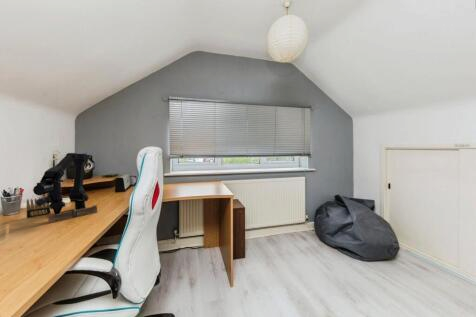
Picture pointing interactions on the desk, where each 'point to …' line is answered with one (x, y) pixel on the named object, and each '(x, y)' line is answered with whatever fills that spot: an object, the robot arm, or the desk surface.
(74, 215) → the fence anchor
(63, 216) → the fence gate
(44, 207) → the ammunition clip
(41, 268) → the desk surface
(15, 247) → the desk surface
